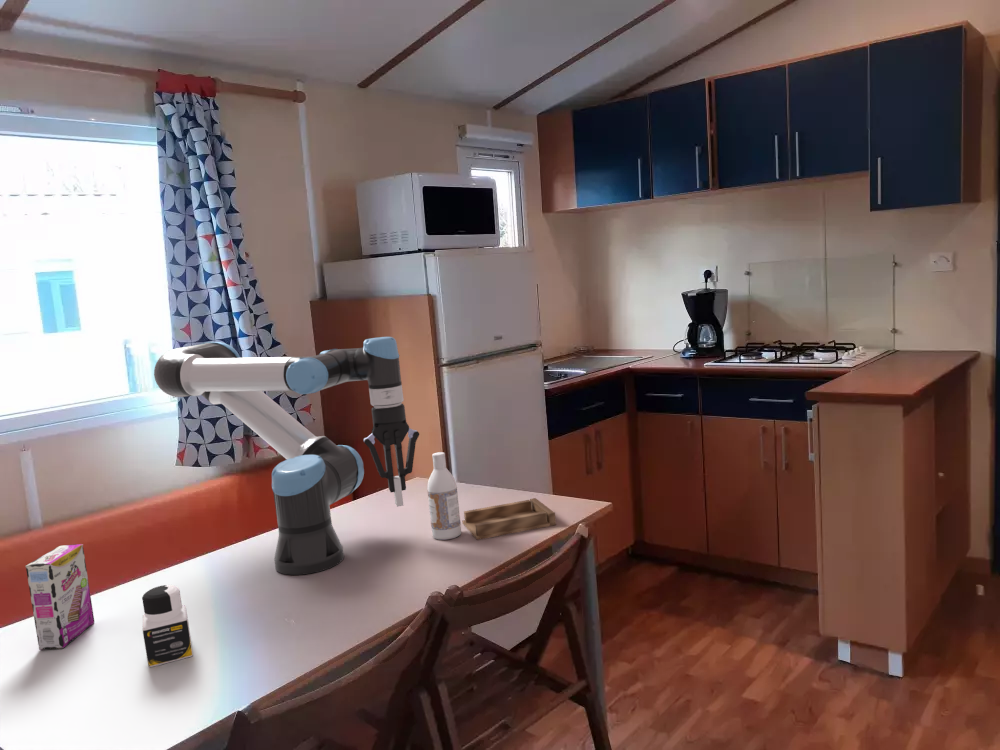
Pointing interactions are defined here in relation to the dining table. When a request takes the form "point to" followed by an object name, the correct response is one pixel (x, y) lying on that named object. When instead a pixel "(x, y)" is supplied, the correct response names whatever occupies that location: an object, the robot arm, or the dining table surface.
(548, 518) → the wooden tray
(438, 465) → the bath foam
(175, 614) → the medicine bottle
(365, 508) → the dining table surface
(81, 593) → the candy bar box
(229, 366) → the robot arm
